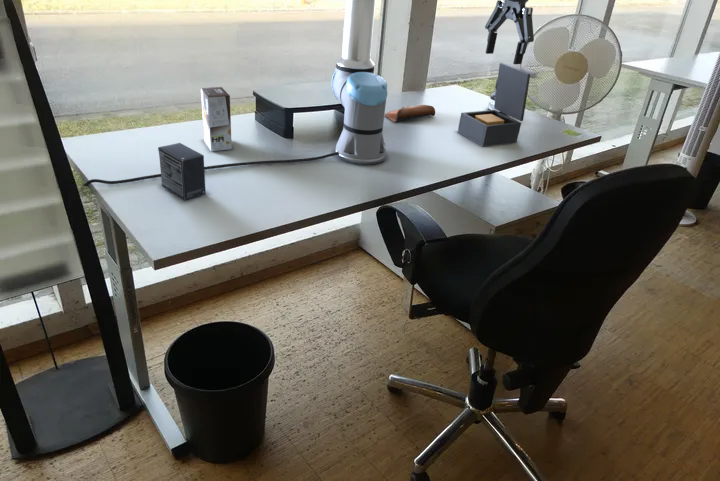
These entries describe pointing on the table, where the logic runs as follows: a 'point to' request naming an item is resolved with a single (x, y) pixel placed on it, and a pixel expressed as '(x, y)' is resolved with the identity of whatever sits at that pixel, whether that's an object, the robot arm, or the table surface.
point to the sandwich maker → (489, 129)
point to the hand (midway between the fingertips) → (502, 58)
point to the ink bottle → (493, 100)
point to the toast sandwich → (489, 119)
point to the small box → (182, 171)
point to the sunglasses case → (410, 112)
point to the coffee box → (216, 118)
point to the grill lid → (512, 90)
